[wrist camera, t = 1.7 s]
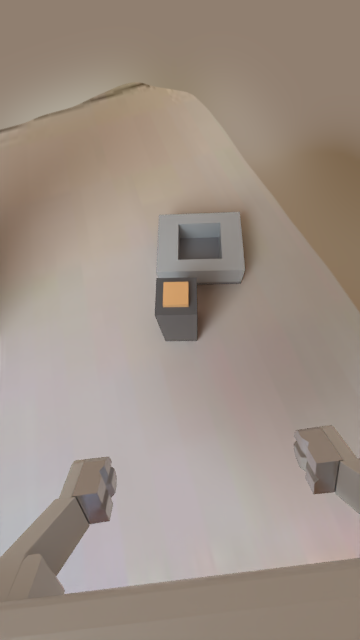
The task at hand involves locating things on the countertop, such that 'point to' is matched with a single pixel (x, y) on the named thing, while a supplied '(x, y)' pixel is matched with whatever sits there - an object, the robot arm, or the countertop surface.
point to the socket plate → (201, 247)
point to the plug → (177, 308)
